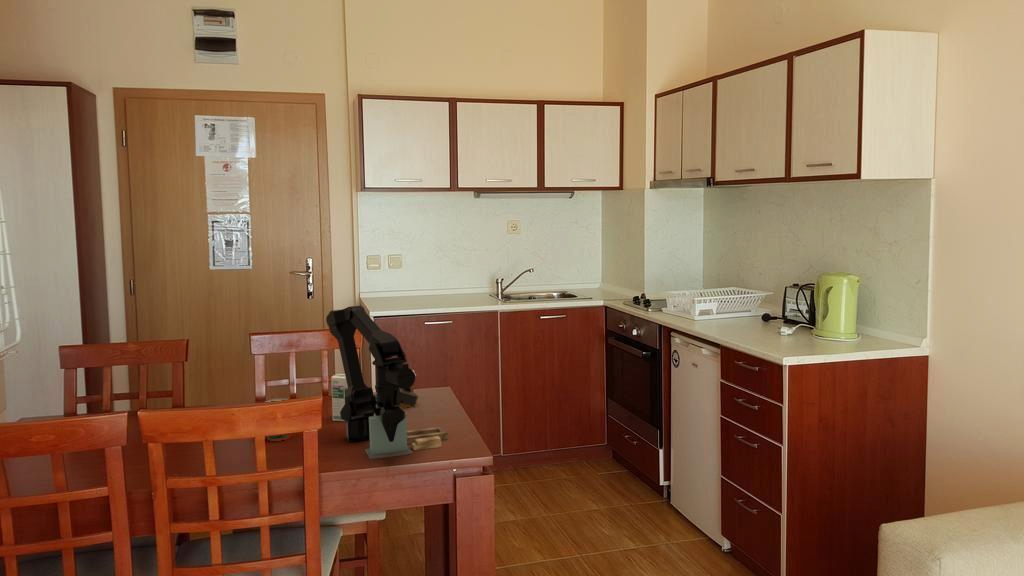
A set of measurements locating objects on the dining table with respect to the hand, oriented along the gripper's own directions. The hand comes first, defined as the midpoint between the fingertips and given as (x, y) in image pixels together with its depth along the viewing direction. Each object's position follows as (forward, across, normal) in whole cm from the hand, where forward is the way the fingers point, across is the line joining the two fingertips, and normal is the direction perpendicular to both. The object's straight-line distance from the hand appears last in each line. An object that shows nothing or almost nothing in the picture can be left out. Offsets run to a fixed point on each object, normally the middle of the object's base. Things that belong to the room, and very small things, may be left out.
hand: (388, 436), depth 216 cm
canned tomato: (+5, +26, +28) cm, 38 cm away
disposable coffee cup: (+5, +46, -14) cm, 48 cm away
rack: (+4, +8, -11) cm, 14 cm away
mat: (+4, 0, 0) cm, 4 cm away
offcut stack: (+4, 0, -11) cm, 12 cm away
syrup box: (+5, +38, +7) cm, 39 cm away
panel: (+4, 0, 0) cm, 4 cm away
